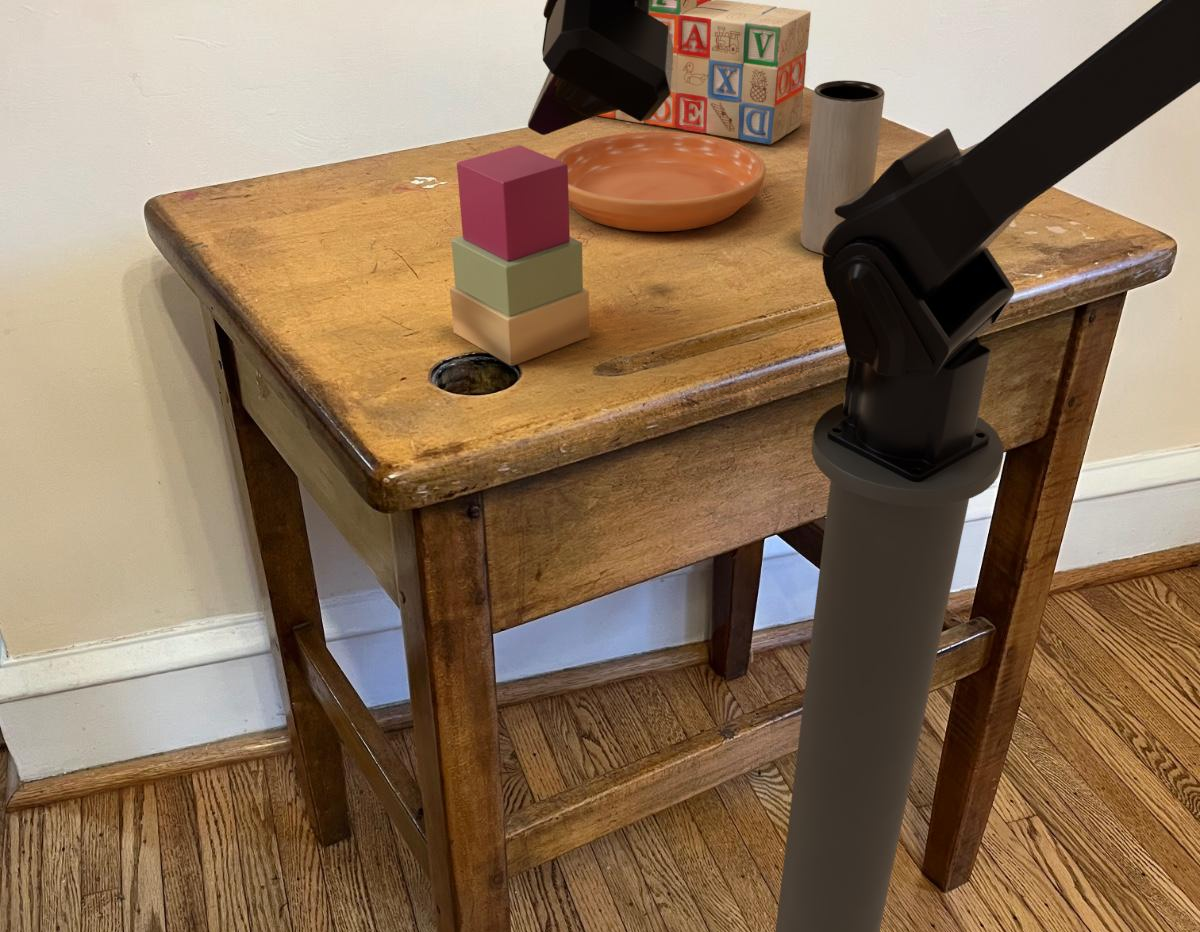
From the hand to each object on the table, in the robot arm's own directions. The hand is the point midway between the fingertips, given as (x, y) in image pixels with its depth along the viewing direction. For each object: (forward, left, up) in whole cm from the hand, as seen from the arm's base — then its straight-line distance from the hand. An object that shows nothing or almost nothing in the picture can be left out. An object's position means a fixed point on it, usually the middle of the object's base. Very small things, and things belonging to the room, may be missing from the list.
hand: (543, 72), depth 70 cm
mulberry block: (-2, +4, -8) cm, 9 cm away
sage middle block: (-2, +4, -11) cm, 12 cm away
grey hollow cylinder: (-5, -21, -14) cm, 26 cm away
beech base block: (-2, +4, -14) cm, 15 cm away
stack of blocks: (+23, -32, -14) cm, 42 cm away
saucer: (+9, -17, -14) cm, 24 cm away
